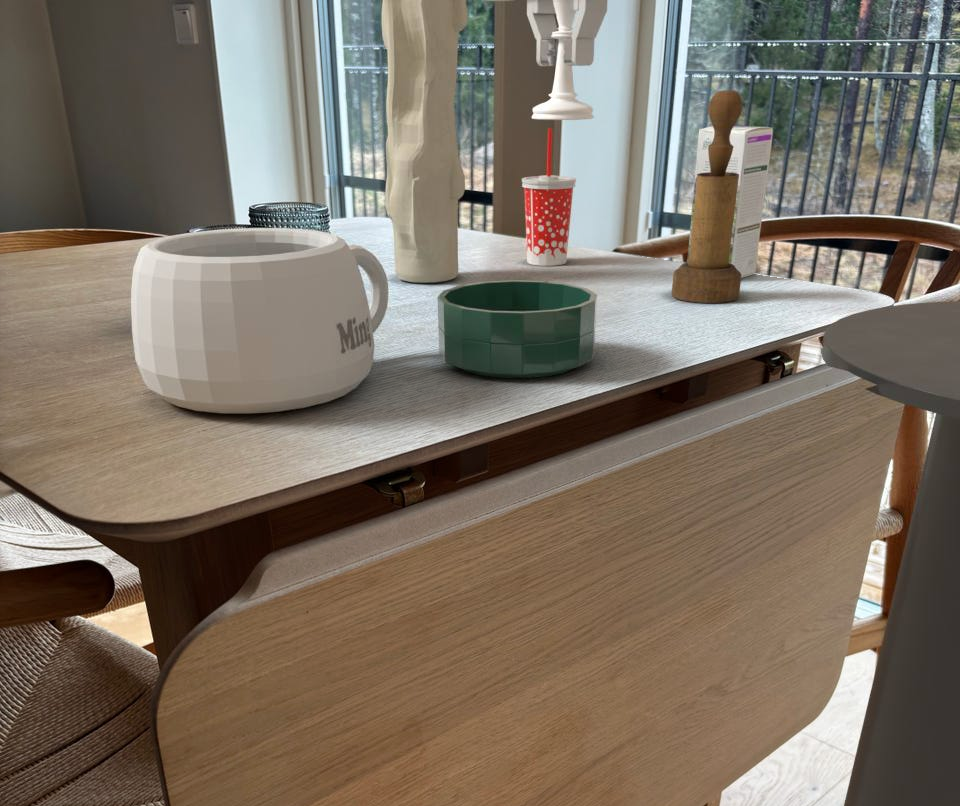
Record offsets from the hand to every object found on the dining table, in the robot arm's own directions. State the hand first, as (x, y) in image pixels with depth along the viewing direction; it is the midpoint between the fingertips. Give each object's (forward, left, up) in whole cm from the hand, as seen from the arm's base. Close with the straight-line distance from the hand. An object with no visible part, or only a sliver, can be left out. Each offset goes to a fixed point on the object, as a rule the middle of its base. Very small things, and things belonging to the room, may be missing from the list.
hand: (564, 66), depth 76 cm
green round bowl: (-6, +9, -20) cm, 23 cm away
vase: (+27, -4, -20) cm, 34 cm away
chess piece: (0, 0, -4) cm, 4 cm away
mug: (0, +26, -20) cm, 33 cm away
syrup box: (+9, -31, -20) cm, 38 cm away
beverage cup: (+27, -21, -20) cm, 40 cm away
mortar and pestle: (+2, -21, -20) cm, 29 cm away
